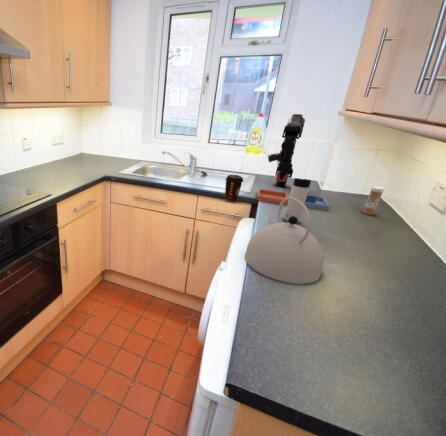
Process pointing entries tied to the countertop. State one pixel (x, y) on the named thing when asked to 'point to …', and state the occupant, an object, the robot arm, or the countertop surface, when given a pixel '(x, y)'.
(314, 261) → the kettle
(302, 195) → the travel mug
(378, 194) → the sprinkles bottle
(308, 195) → the slate-blue block
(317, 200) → the blue tray
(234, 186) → the coffee cup
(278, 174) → the terracotta block
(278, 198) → the terracotta tray
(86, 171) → the countertop surface
